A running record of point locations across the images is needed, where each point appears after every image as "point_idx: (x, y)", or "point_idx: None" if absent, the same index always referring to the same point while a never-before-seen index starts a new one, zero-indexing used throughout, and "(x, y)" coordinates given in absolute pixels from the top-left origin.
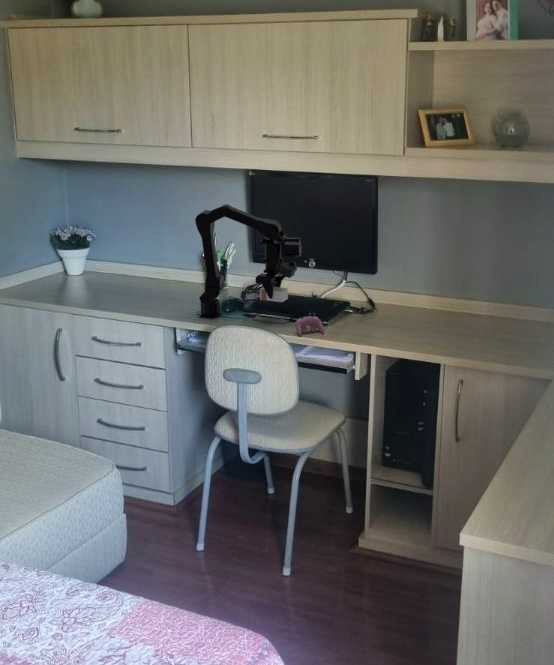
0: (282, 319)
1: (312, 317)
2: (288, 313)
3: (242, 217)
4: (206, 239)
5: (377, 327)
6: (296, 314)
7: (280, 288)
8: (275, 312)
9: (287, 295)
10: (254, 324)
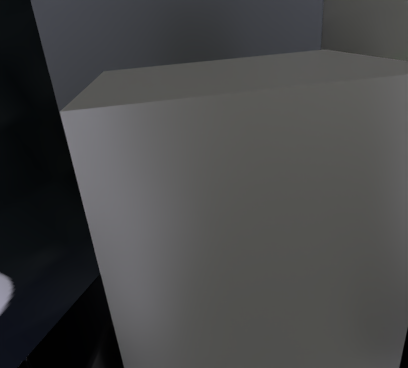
0: (242, 45)
1: None
2: (29, 104)
3: None
4: None
5: None
6: (6, 13)
7: (190, 264)
8: (72, 211)
9: (115, 76)
10: None
